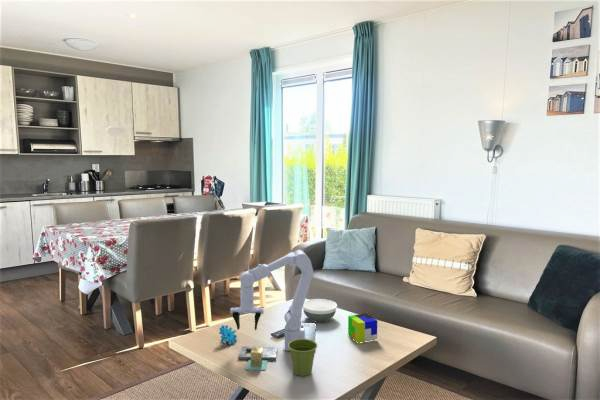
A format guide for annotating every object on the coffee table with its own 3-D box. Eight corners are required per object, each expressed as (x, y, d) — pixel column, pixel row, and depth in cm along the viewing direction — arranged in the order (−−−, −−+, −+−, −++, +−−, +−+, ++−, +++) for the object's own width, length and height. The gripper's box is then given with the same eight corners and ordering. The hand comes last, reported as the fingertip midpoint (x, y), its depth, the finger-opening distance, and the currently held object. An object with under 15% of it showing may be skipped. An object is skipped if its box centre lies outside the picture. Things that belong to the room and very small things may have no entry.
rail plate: (277, 349, 186) (277, 346, 186) (275, 360, 176) (275, 357, 176) (242, 349, 187) (242, 346, 186) (238, 359, 177) (238, 356, 177)
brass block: (262, 361, 174) (262, 347, 174) (261, 366, 170) (261, 352, 169) (252, 361, 174) (252, 347, 174) (250, 366, 170) (250, 352, 169)
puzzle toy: (376, 340, 196) (377, 320, 195) (358, 344, 193) (358, 323, 192) (366, 332, 206) (366, 313, 205) (348, 335, 202) (348, 315, 201)
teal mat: (267, 360, 176) (267, 360, 176) (265, 370, 168) (265, 369, 168) (248, 360, 176) (248, 359, 176) (245, 370, 168) (245, 369, 168)
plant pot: (323, 371, 167) (323, 344, 166) (303, 382, 159) (304, 354, 158) (301, 361, 175) (301, 336, 174) (281, 372, 167) (281, 345, 165)
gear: (228, 345, 187) (217, 326, 190) (220, 352, 189) (209, 334, 192) (242, 339, 197) (231, 321, 200) (234, 346, 199) (224, 328, 202)
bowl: (319, 329, 209) (319, 313, 209) (294, 318, 223) (294, 303, 222) (344, 319, 222) (344, 304, 221) (319, 310, 236) (319, 296, 235)
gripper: (228, 301, 180) (229, 332, 181) (262, 302, 179) (262, 332, 180) (231, 296, 187) (232, 325, 188) (264, 297, 186) (264, 326, 187)
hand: (247, 328), depth 185 cm, fingers open, 7 cm apart
